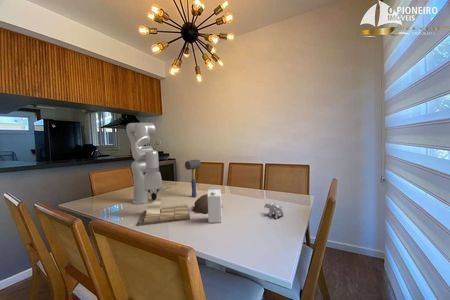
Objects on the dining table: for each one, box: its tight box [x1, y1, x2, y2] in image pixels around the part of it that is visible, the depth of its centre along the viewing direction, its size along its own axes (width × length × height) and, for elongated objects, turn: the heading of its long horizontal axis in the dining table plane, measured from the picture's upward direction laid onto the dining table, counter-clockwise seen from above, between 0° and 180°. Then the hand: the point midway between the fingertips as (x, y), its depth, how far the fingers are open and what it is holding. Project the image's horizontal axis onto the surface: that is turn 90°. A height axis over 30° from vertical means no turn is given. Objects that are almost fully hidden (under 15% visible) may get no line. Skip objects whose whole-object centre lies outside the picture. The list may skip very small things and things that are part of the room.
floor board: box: [137, 204, 191, 227], centre depth 127 cm, size 20×28×3 cm
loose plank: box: [146, 197, 162, 216], centre depth 127 cm, size 13×8×2 cm
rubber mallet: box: [184, 159, 202, 198], centre depth 166 cm, size 12×8×30 cm, turn 143°
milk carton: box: [207, 186, 223, 224], centre depth 118 cm, size 7×7×19 cm
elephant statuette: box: [263, 201, 285, 220], centre depth 122 cm, size 9×12×8 cm
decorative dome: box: [192, 193, 223, 215], centre depth 138 cm, size 19×20×10 cm
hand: (154, 199), depth 129 cm, fingers closed
